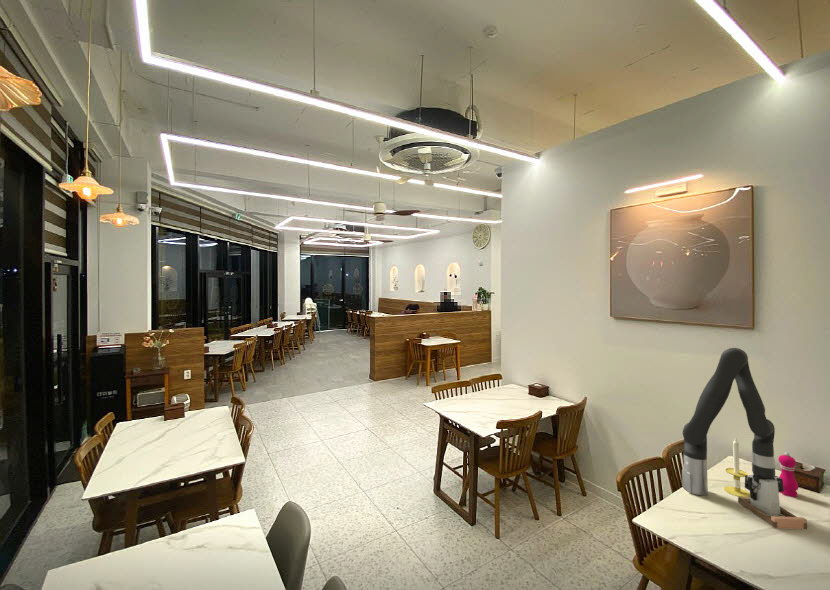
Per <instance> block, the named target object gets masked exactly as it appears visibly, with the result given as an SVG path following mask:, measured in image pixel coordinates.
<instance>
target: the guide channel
mask: <svg viewBox="0 0 830 590" xmlns="http://www.w3.org/2000/svg"><path fill="white" fill-rule="evenodd" d="M737 503H738V504H740V505H741V506H742V507H744V508H746V509H747V510H748V511H750V512H751V513H752V514H754V515H755V516H756V517H758V518H760V519H761V520H763V522H765V523H767V524H768V525H769V526H770V527H772V528H773V529H779V528H778V525H777V522H776V523H774V522H773V521H772V520H771V517H770V516H768V515H766V514H765V513H763V512H762V511H760V510H759V509H757V508H756V507H754V506H753V505H752V504H751V501H750V497H738V496H737ZM780 516H782V517H797V516H796V515H795V514H793V513H791V512H790V511H788V510H786V509H785V508H783V507H782V506H780ZM804 524H805V525H807V526H805V525H804V526H805V527H806V528H805V527H804V529H803V530H807V529H808V522H807V523H804ZM774 525H776V526H775V527H776V528H775V527H774Z"/></svg>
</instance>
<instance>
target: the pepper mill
mask: <svg viewBox="0 0 830 590" xmlns="http://www.w3.org/2000/svg"><path fill="white" fill-rule="evenodd" d="M783 453H784V454H781V455H779V456H778V462H779V467H780V468H781V472H780V474H779V476H778V477H780V478H781V479H783V488H784V491H783V492H779V493H780V494H781V493H782V495H784V496H786V495H787V497H790V496H791V498H792V497H793V498H795V497H798V492H797V491H798V490H799V483H798V481H797V480H796V478H795V475H794V471H795V470H796V468H795V466H796V465H797V461H796V459H795V458H794V457H793V456H790V453H789V452H783Z"/></svg>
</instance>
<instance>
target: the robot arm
mask: <svg viewBox="0 0 830 590" xmlns="http://www.w3.org/2000/svg"><path fill="white" fill-rule="evenodd" d="M718 361H719V362H718V364H717V366H716V369H715V372H713V374H712V376H711V378H710V379H709V380H708V382H707V383H706V385H705V387H703V390H702V392H701V393H700V397H699V398H698V402H697V404H696V407H695V410H694V413H693V416H692V417H691V418H690V420H689V422H687V423H686V424H685V425H684V427H683V428H682V437H683V468H682V469H681V479H682V480H681V481H682V482H681V483H682V488H683V489H684V490H685V491H686V492H688V493H689V494H693V495H697V496H707V495H708V494H709V487H708V486H709V485H708V480H709V479H708V433H709V429H710V427H711V425H712V423H713V422H714V420H715V419H716V418H717V416H718V415H719V413H720V412H721V410H722V409H723V407H724V406H725V404H726V402H727V400H728V398H729V395H730V393H731V390H732V386H733V383H734V380H735V383H736V386H737V392H738V394H739V398H740V400H741V403H742V406H743V408H744V410H745V413H746V415H745V416H746V419H747V424H748V426H749V428H750V431H751V432H752V433H753V436H754V437H753V439H752V443H751V447H752V450H751V451H752V453H751V454H752V455H751V471H752V475H753V476H752V477H751V476H749V475H748V476H747V475H746V476H745V477H744V488H745V489H746V490H748V492H749V493H750V497H751V498H752V499H753V500H754V501H757V493H756V492H757V490H758V489H760V488H761V483H759V479H773V480H776V481H778V492H779V493H780V492H783V491H784V488H783V479H781V478H780V477H779V476H777V475H776V460H775V451H774V450H775V449H774V441H775V434H776V431H775V430H776V429H775V425H774V423H773V422H772V421H771V420H770V419H769V418H767V416H766V407H765V405H764V402H763V400H762V397H761V395H760V393H759V390H758V388H757V385H756V384H755V382H754V379H753V376H752V373H751V370H750V364H749V356H748V354H747V353H746V352H745V350H743V349H741V348H738V347H730V348H727V349H725V350H723V351H722V353H721V355H720V358H719V360H718ZM753 480H754V481H756V482H757V484H759V485H758V486H756V485H755V484H754V483H752V482H753ZM754 487H755V488H754Z"/></svg>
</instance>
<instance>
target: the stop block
mask: <svg viewBox="0 0 830 590" xmlns="http://www.w3.org/2000/svg"><path fill="white" fill-rule="evenodd" d="M771 520H772V521H773V522H774V523H776V522H777V525H778V528H776V527H775V526H776V525H774V527H775V528H774V527H773V528H774V529H789V530H790V529H791V530H805V529H804V527H805V526H807V527H808V519H807V518H805V517H803V516H802V517H799V516H798V517H797V516H796V517H784V516H771ZM804 523H807V525H805V524H804ZM804 525H805V526H804ZM805 528H806V527H805Z"/></svg>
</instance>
